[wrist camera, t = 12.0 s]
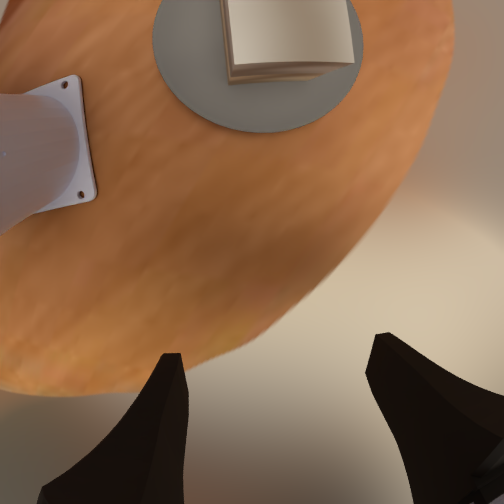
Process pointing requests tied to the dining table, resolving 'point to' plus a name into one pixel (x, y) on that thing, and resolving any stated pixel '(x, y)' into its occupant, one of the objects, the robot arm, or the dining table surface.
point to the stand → (242, 95)
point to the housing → (284, 39)
